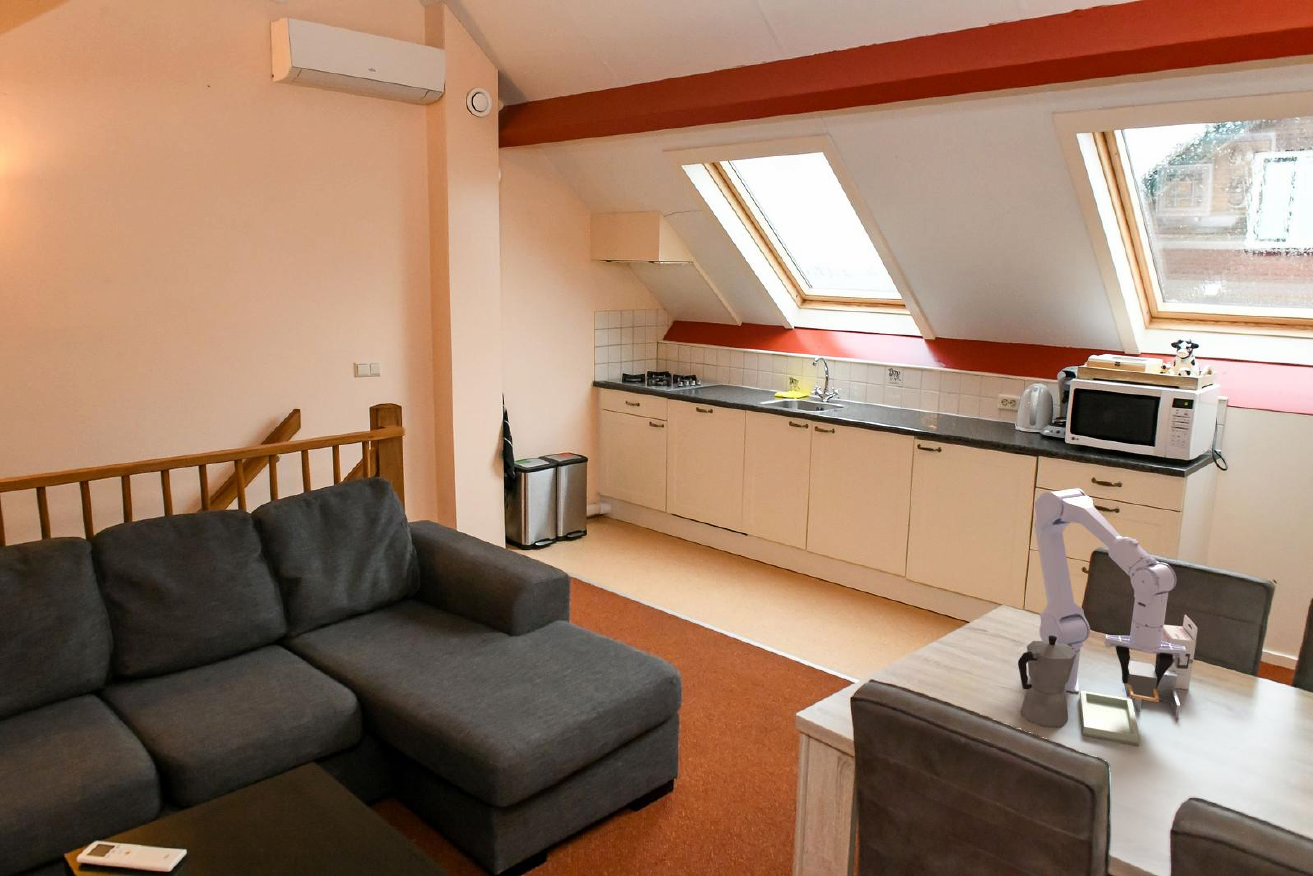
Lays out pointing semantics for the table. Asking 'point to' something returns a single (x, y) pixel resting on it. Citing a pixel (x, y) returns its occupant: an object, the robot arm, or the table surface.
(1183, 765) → the table surface
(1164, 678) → the steel bay
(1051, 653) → the coffeepot
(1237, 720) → the table surface
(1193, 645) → the ink box
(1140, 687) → the orange handle block
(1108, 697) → the green tray
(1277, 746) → the table surface
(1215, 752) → the table surface
